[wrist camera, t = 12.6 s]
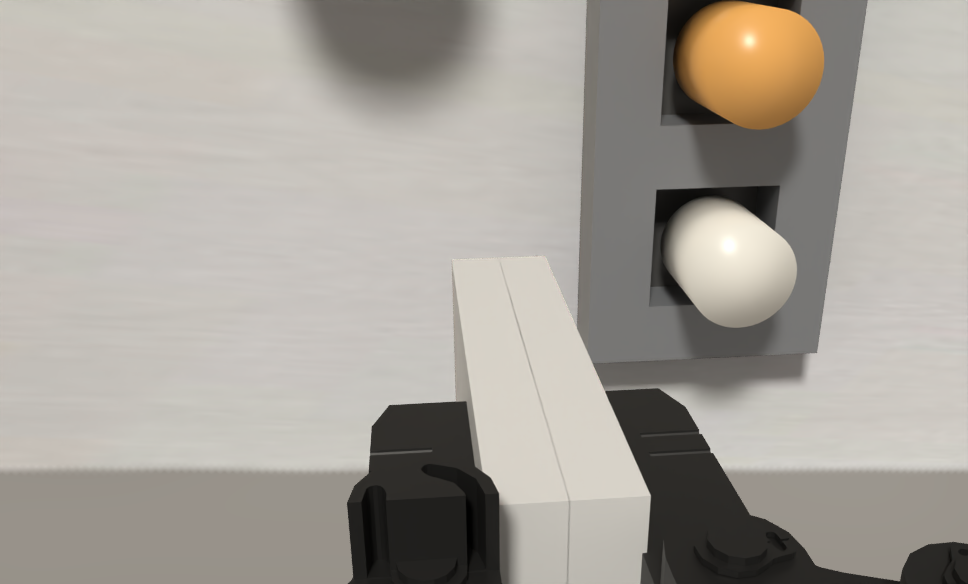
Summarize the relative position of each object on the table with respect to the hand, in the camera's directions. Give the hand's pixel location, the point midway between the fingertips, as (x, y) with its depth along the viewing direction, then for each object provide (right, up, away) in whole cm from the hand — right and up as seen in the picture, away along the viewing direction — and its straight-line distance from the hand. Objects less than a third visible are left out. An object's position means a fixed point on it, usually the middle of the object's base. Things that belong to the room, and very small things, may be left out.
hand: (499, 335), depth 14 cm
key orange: (+11, +12, +26) cm, 30 cm away
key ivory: (+11, +3, +29) cm, 31 cm away
